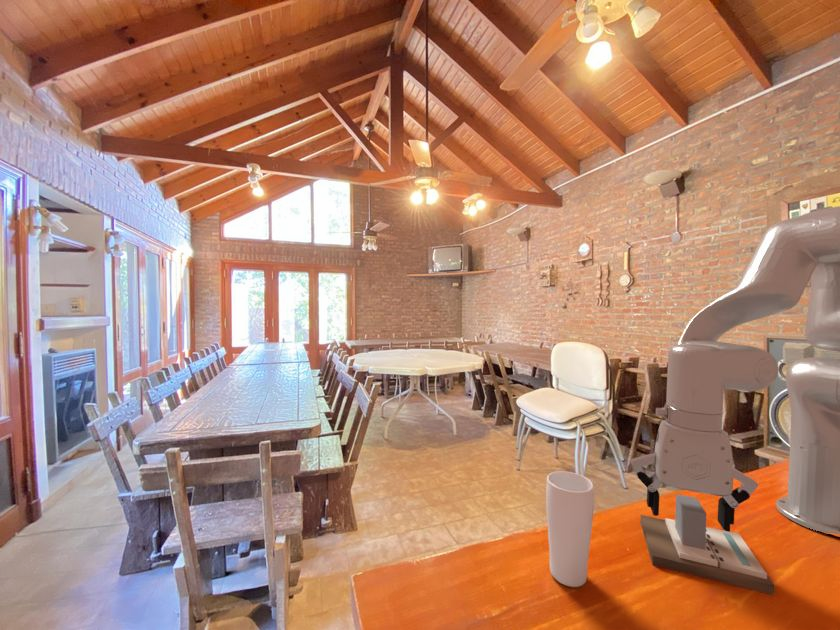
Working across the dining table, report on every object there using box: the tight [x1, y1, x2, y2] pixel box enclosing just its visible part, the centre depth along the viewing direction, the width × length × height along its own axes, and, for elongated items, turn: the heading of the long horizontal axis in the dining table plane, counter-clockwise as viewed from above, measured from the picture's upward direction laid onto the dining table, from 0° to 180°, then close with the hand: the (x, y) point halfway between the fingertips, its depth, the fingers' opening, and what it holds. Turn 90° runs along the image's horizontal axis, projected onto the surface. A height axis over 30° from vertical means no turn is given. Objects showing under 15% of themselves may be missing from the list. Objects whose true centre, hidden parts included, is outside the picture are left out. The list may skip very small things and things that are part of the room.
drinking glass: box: [545, 470, 595, 588], centre depth 55 cm, size 7×7×15 cm
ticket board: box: [639, 514, 776, 596], centre depth 60 cm, size 12×15×2 cm
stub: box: [664, 493, 718, 567], centre depth 61 cm, size 10×5×7 cm, turn 156°
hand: (687, 518), depth 61 cm, fingers open, 9 cm apart
